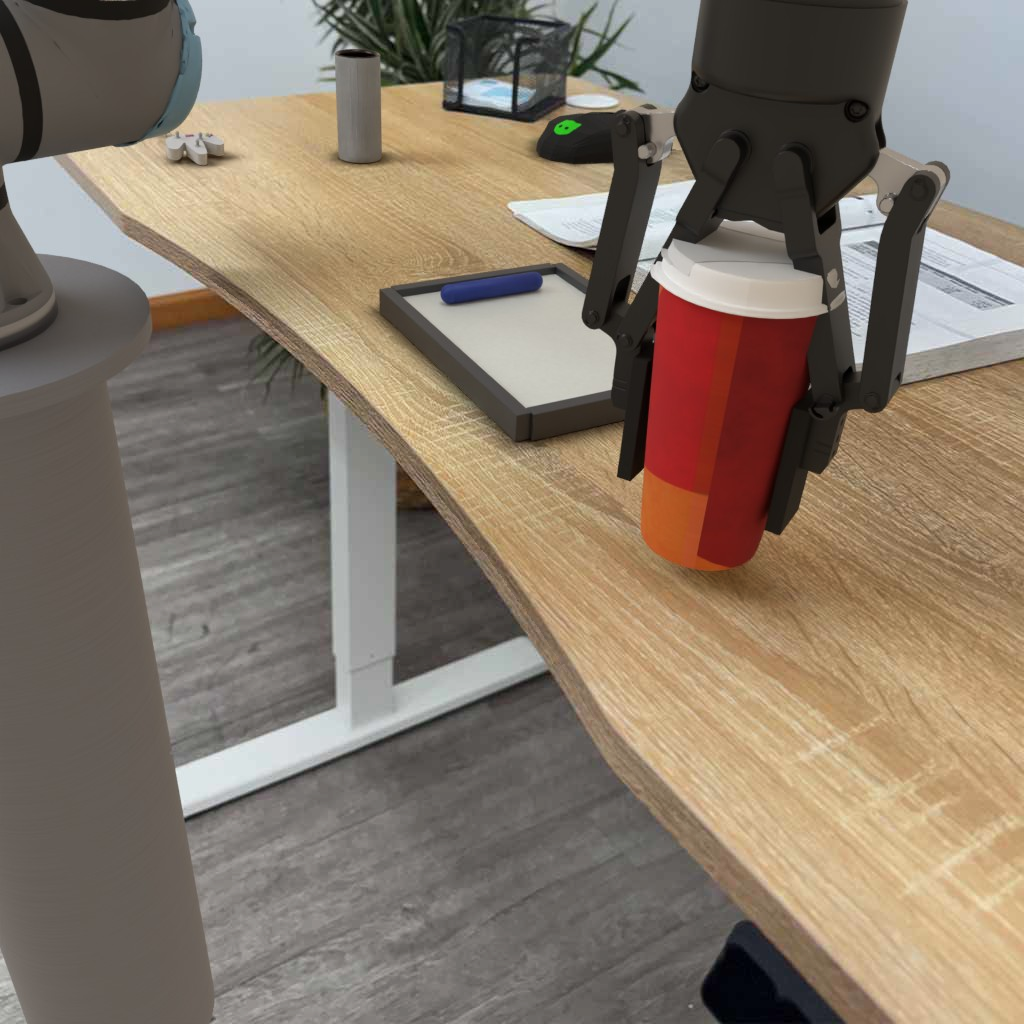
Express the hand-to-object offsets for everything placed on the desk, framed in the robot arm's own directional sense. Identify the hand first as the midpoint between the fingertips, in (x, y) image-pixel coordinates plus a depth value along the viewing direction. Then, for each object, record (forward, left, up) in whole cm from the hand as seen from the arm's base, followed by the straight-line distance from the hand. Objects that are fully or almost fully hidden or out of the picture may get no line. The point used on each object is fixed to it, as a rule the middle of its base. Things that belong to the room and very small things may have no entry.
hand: (706, 492), depth 52 cm
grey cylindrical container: (-74, +11, -4) cm, 75 cm away
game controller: (-82, -5, -4) cm, 82 cm away
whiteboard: (-25, +5, -4) cm, 26 cm away
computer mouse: (-70, +38, -4) cm, 80 cm away
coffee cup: (0, 0, -3) cm, 3 cm away
